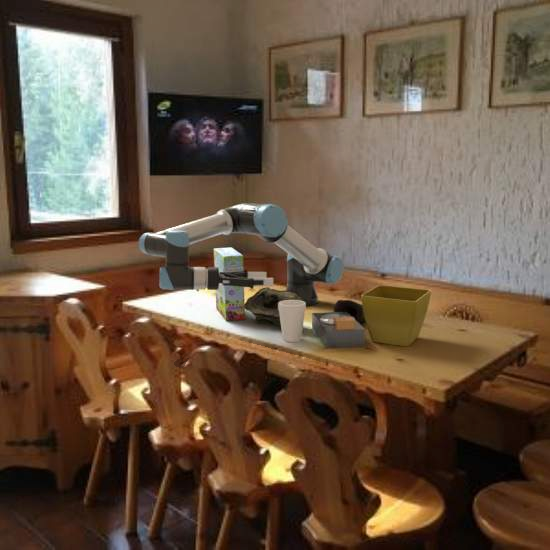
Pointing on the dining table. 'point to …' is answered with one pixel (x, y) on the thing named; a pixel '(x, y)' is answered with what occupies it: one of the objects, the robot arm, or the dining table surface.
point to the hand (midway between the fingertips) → (269, 279)
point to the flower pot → (395, 313)
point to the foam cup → (291, 319)
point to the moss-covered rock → (268, 303)
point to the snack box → (229, 296)
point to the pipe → (350, 309)
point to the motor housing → (338, 330)
